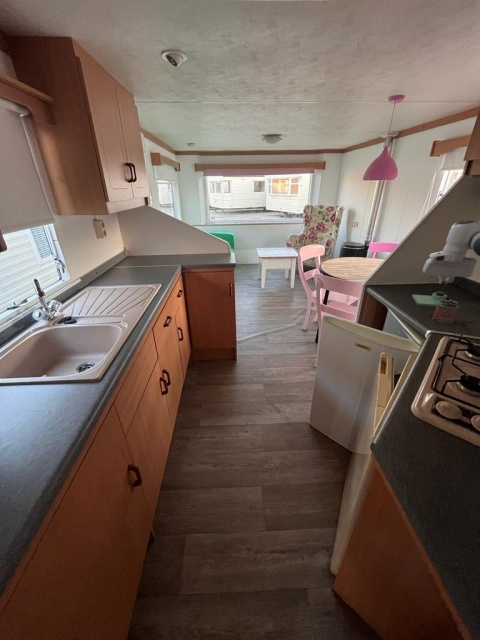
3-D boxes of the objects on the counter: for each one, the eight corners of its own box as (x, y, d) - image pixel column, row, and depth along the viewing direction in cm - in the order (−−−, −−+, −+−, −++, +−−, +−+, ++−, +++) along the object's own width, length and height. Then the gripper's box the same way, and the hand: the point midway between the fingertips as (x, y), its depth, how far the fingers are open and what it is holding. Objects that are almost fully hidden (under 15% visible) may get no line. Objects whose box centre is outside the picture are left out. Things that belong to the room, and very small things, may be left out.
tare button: (442, 294, 137) (443, 291, 136) (444, 297, 135) (445, 293, 134) (434, 294, 138) (435, 291, 137) (436, 296, 135) (438, 293, 135)
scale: (442, 298, 139) (444, 293, 138) (451, 308, 129) (453, 302, 127) (411, 296, 143) (412, 290, 142) (417, 305, 133) (419, 299, 131)
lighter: (452, 320, 117) (460, 300, 113) (454, 324, 115) (462, 303, 110) (431, 317, 120) (438, 297, 116) (432, 321, 118) (439, 300, 113)
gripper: (475, 256, 127) (464, 283, 133) (426, 253, 133) (418, 280, 139) (481, 259, 122) (469, 287, 128) (430, 256, 127) (421, 284, 134)
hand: (442, 283), depth 134 cm, fingers closed
